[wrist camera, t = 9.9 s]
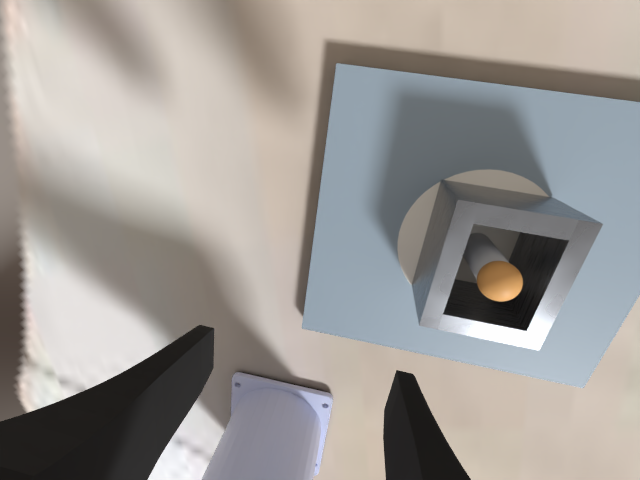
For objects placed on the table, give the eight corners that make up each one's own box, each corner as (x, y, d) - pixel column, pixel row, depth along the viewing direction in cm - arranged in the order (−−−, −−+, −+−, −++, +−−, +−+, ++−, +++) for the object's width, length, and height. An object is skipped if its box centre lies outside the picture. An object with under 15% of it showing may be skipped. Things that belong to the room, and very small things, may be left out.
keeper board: (574, 376, 22) (640, 467, 16) (304, 319, 23) (282, 384, 18) (725, 115, 15) (915, 121, 10) (338, 65, 17) (320, 47, 12)
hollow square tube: (508, 303, 19) (539, 350, 16) (411, 284, 20) (419, 325, 16) (554, 197, 17) (603, 223, 13) (441, 179, 17) (458, 199, 14)
